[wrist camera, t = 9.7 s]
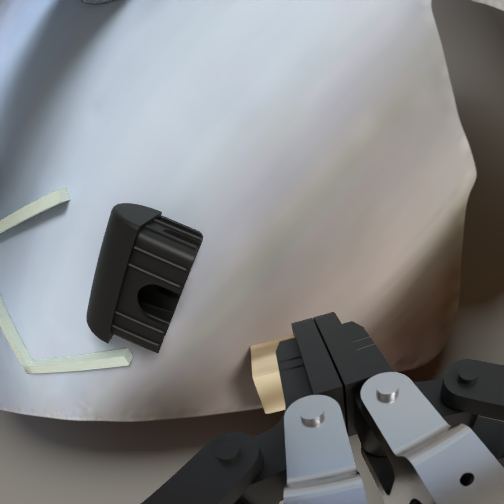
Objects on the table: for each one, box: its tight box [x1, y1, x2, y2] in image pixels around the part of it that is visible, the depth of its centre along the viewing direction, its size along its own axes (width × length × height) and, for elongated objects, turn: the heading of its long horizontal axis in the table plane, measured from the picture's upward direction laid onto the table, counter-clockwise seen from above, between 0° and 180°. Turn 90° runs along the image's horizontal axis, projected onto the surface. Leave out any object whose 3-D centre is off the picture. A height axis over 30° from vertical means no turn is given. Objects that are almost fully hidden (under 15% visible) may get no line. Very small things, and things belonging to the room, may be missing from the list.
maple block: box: [250, 335, 294, 414], centre depth 27 cm, size 5×5×5 cm
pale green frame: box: [0, 188, 133, 374], centre depth 25 cm, size 18×17×2 cm
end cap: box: [87, 203, 203, 353], centre depth 22 cm, size 10×7×7 cm
